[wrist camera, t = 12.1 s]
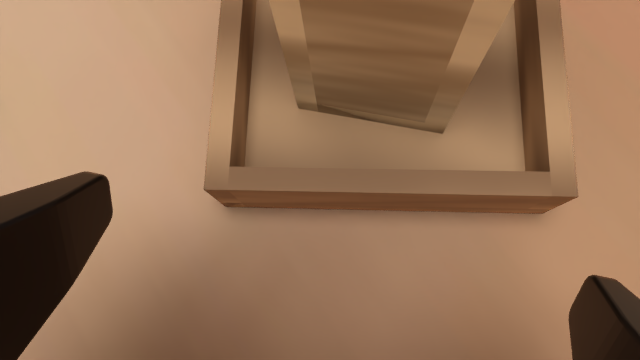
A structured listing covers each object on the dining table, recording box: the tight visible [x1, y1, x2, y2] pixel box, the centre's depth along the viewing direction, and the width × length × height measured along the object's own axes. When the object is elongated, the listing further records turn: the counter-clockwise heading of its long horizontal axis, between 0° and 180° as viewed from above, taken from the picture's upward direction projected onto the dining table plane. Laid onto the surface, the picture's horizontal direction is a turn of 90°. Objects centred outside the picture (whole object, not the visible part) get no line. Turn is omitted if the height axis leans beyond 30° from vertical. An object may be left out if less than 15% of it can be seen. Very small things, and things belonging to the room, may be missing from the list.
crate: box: [204, 0, 578, 214], centre depth 19 cm, size 12×12×3 cm
